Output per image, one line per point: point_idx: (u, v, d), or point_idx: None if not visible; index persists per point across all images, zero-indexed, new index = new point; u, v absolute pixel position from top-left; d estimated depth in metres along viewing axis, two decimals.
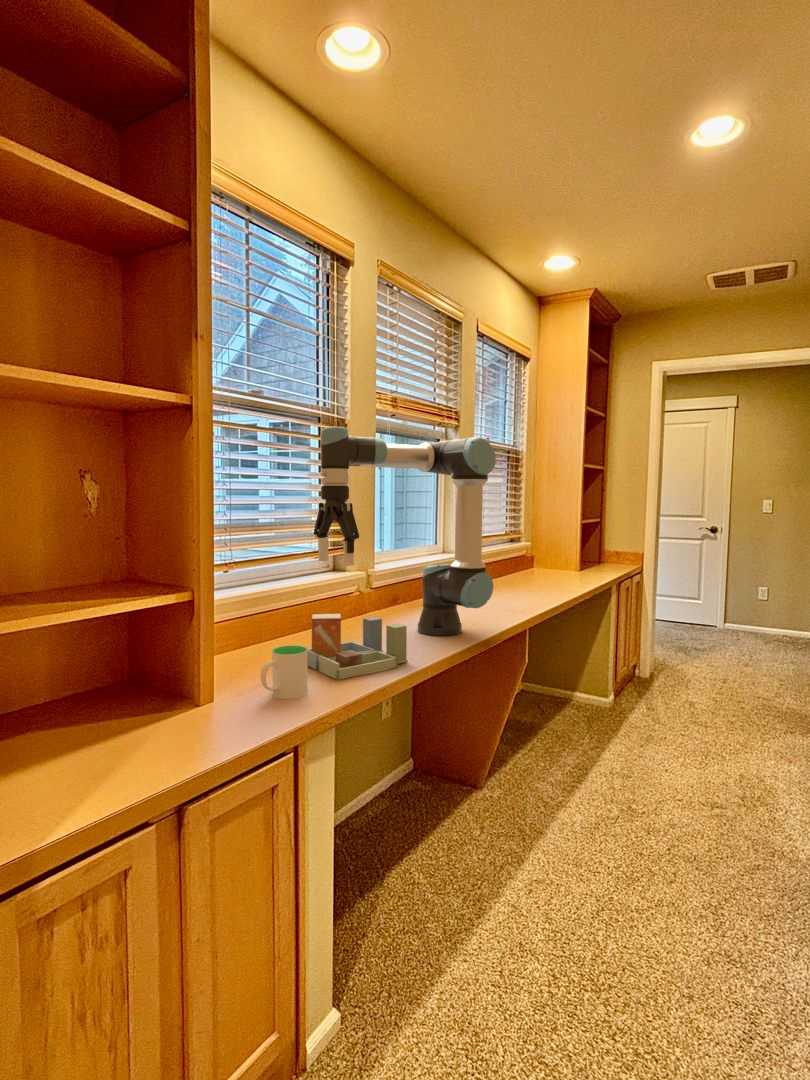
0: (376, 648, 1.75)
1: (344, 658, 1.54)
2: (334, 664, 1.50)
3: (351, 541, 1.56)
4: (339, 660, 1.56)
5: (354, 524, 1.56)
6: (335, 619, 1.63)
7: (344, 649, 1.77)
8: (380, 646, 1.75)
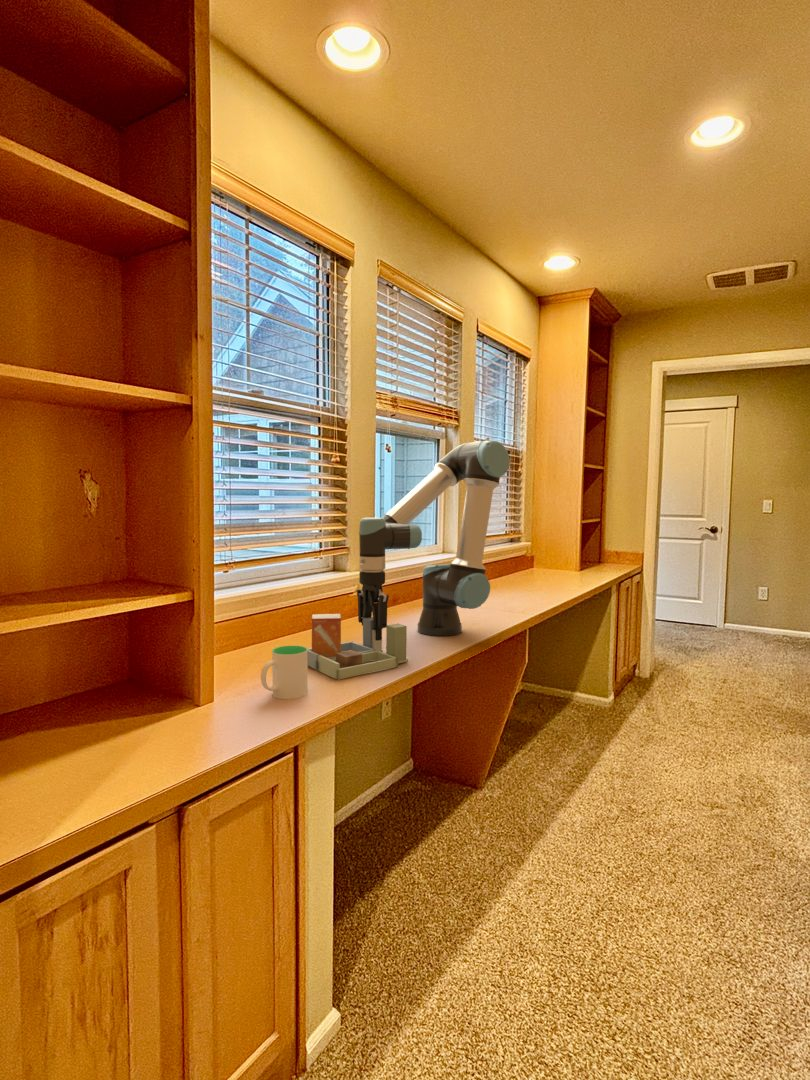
0: None
1: (344, 658, 1.54)
2: (334, 664, 1.50)
3: (379, 630, 1.72)
4: (339, 660, 1.56)
5: (385, 615, 1.71)
6: (335, 619, 1.63)
7: (344, 649, 1.77)
8: None
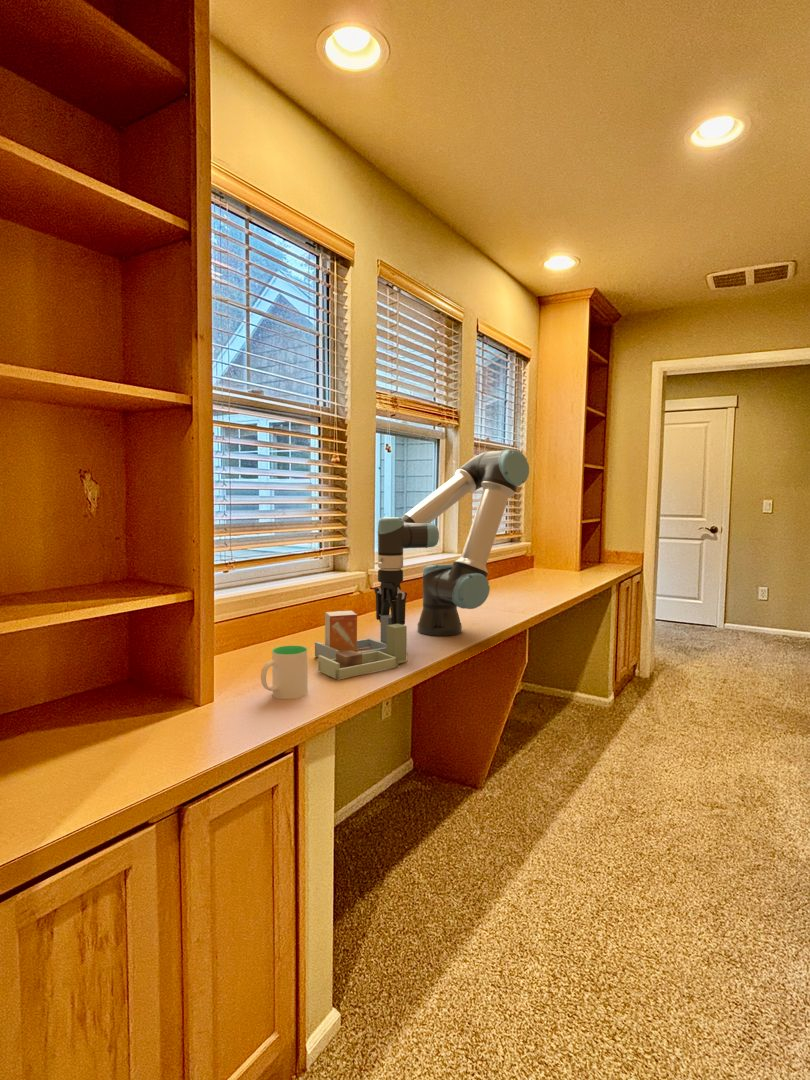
0: None
1: (344, 658, 1.54)
2: (334, 664, 1.50)
3: None
4: (339, 660, 1.56)
5: (403, 612, 1.75)
6: (352, 616, 1.68)
7: (362, 646, 1.81)
8: None
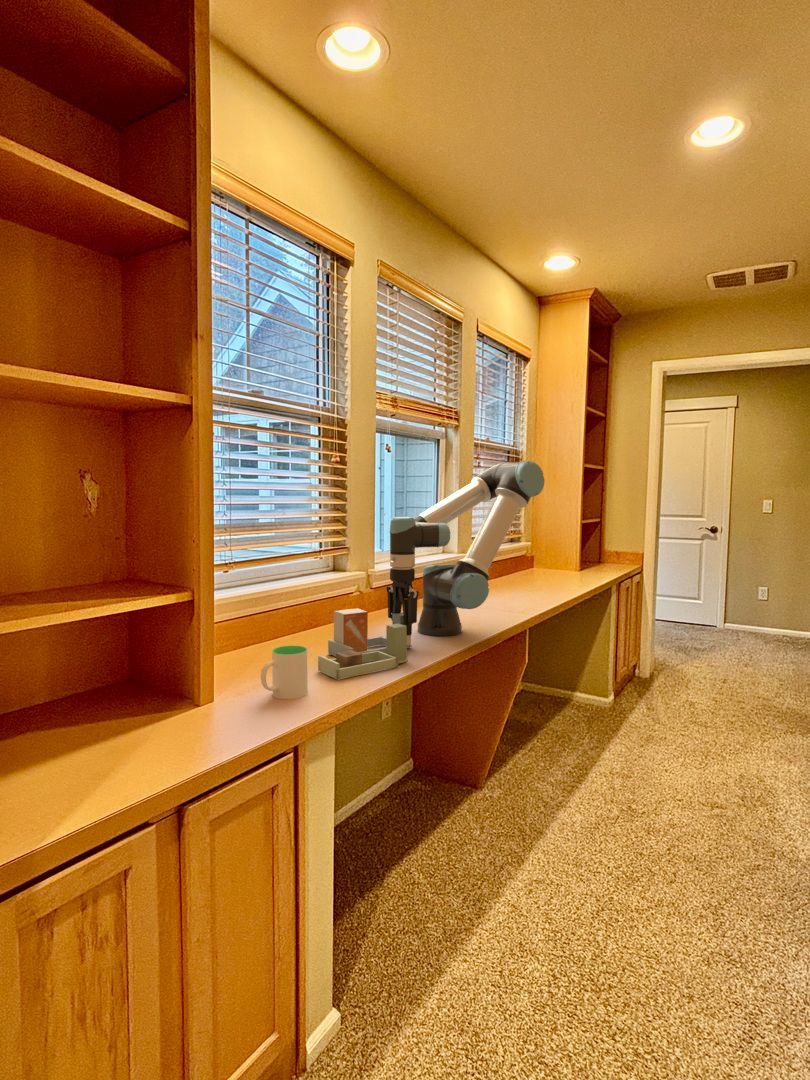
0: None
1: (344, 658, 1.54)
2: (334, 664, 1.50)
3: (409, 625, 1.79)
4: (339, 660, 1.56)
5: (415, 611, 1.78)
6: (363, 613, 1.72)
7: (374, 644, 1.83)
8: None
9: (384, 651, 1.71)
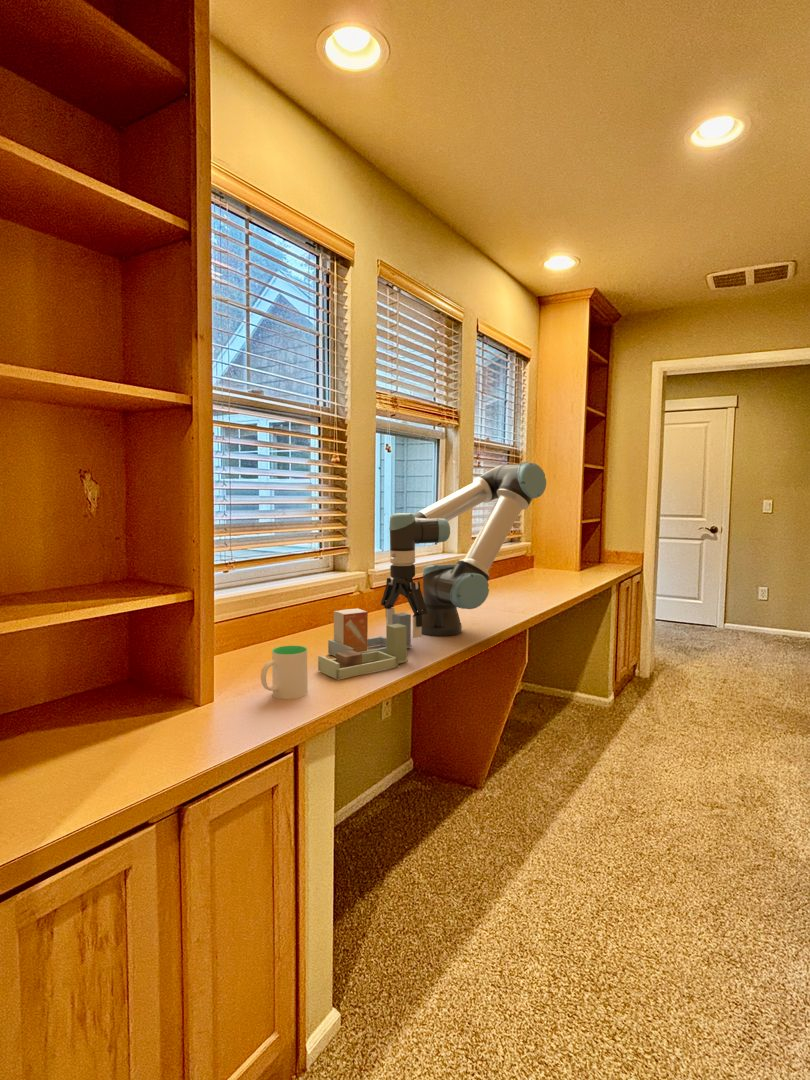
0: None
1: (344, 658, 1.54)
2: (334, 664, 1.50)
3: (420, 616, 1.75)
4: (339, 660, 1.56)
5: (422, 601, 1.75)
6: (363, 613, 1.72)
7: (374, 644, 1.83)
8: (409, 641, 1.82)
9: (384, 651, 1.71)
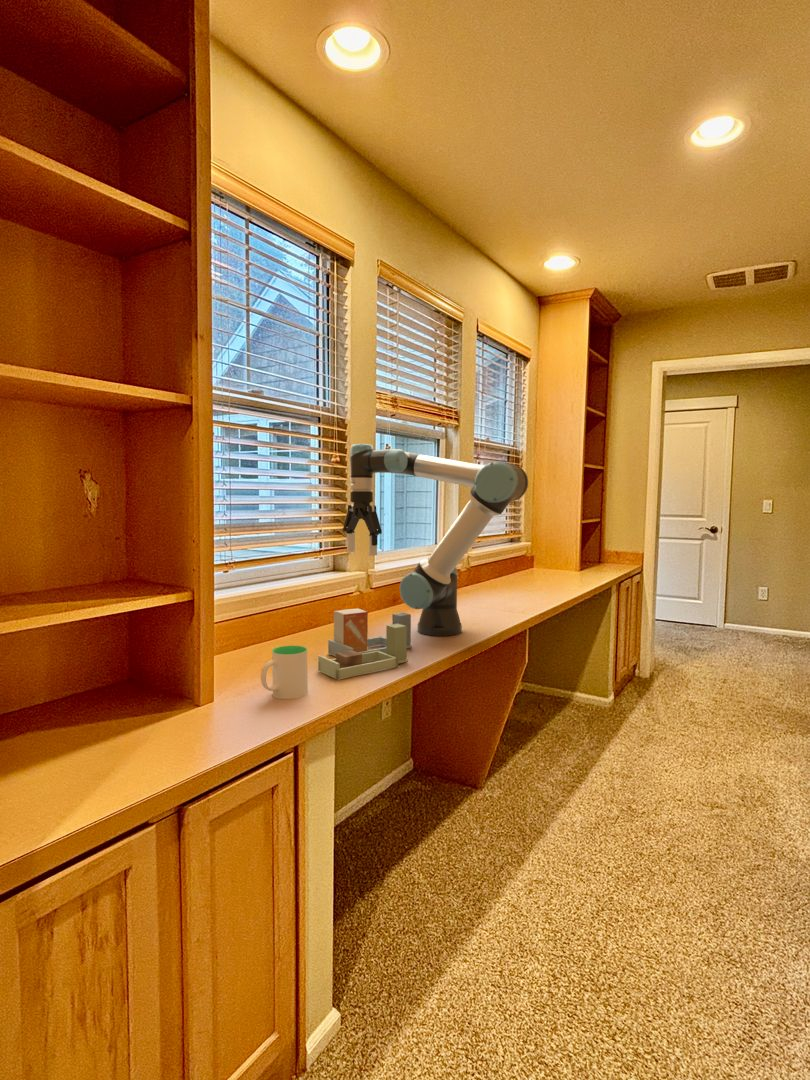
0: None
1: (344, 658, 1.54)
2: (334, 664, 1.50)
3: (375, 536, 1.94)
4: (339, 660, 1.56)
5: (377, 522, 1.94)
6: (363, 613, 1.72)
7: (374, 644, 1.83)
8: (409, 641, 1.82)
9: (384, 651, 1.71)
